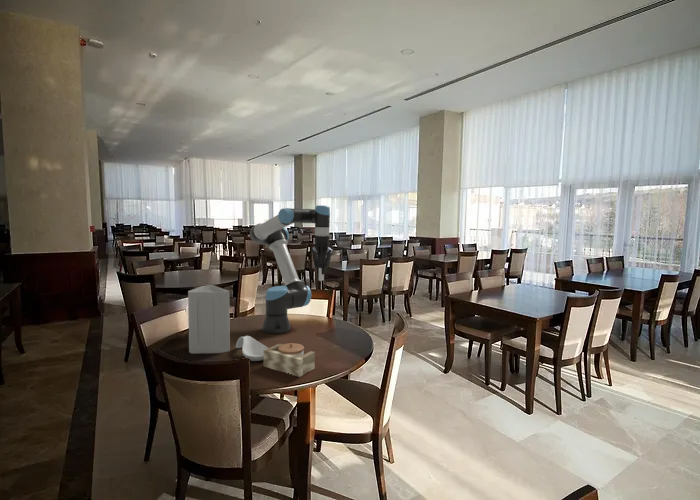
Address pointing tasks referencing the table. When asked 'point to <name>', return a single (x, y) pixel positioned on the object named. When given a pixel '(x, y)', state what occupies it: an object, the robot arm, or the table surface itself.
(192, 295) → the grey triangular prism
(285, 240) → the robot arm
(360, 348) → the table surface
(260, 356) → the spoon rest
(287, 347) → the lidded jar
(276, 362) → the open wooden box
